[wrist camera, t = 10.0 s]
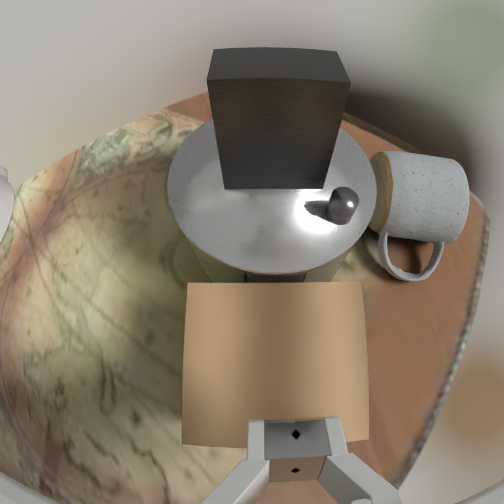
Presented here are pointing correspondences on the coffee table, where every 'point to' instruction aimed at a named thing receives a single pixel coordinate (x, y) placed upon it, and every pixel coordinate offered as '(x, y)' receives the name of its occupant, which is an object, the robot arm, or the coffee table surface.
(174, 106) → the coffee table surface
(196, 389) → the tan block
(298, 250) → the lid
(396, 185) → the ceramic mug
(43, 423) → the coffee table surface
